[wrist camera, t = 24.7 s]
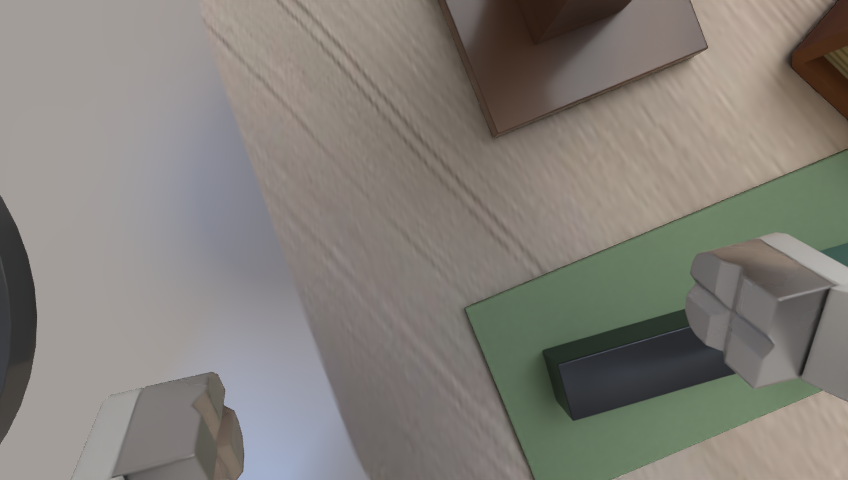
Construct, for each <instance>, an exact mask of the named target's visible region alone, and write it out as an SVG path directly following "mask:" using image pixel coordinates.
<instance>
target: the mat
mask: <svg viewBox="0 0 848 480" xmlns="http://www.w3.org/2000/svg"><path fill="white" fill-rule="evenodd" d="M775 232H778V233H784V234H788V235H790V236H792V237H794V238H796V239H797V240H799V241H801V242H803V243H805V244H807V245H808V246H810V247H812V248H814V249H816V250H817V251H822V250H825V249H828V248H832V247H835V246H839V245H842V244H846V243H848V149H846V150H844V151H841V152H839V153H837V154H834V155H832V156H829V157H827V158H824V159H822V160H820V161H817V162H815V163H812V164H810V165H808V166H805V167H803V168H800V169H798V170H796V171H793V172H791V173H788V174H786V175H783V176H781V177H779V178H776V179H774V180H771V181H769V182H767V183H764V184H762V185H759V186H757V187H755V188H752V189H750V190H747V191H745V192H742V193H740V194H738V195H735V196H733V197H730V198H728V199H726V200H723V201H721V202H718V203H716V204H714V205H711V206H709V207H706V208H704V209H701V210H699V211H697V212H694V213H692V214H689V215H687V216H685V217H682V218H680V219H677V220H675V221H673V222H670V223H668V224H665V225H663V226H660V227H658V228H656V229H653V230H651V231H648V232H646V233H644V234H641V235H639V236H636V237H634V238H632V239H629V240H627V241H624V242H622V243H619V244H617V245H615V246H612V247H610V248H607V249H605V250H603V251H600V252H598V253H595V254H593V255H591V256H588V257H586V258H583V259H581V260H578V261H576V262H574V263H571V264H569V265H566V266H564V267H562V268H559V269H557V270H554V271H552V272H550V273H547V274H545V275H542V276H540V277H537V278H535V279H533V280H530V281H528V282H525V283H523V284H521V285H518V286H516V287H513V288H511V289H509V290H506V291H504V292H501V293H499V294H496V295H494V296H492V297H489V298H487V299H484V300H482V301H480V302H477V303H475V304H472V305H470V306H468V307H465V311H466V313H467V315H468V318H469V320H470V323H471V325H472V328H473V330H474V333H475V335H476V337H477V340H478V342H479V345H480V347H481V350H482V352H483V354H484V357H485V359H486V362H487V364H488V367H489V369H490V372H491V374H492V376H493V379H494V381H495V384H496V386H497V389H498V391H499V393H500V396H501V398H502V401H503V403H504V406H505V408H506V411H507V413H508V415H509V418H510V420H511V423H512V425H513V428H514V430H515V432H516V435H517V437H518V440H519V442H520V445H521V447H522V449H523V452H524V454H525V457H526V459H527V462H528V464H529V467H530V469H531V471H532V474H533V476H534V479H535V480H611V479H614V478H616V477H619V476H621V475H623V474H626V473H628V472H630V471H633V470H635V469H638V468H640V467H642V466H645V465H647V464H649V463H652V462H654V461H656V460H659V459H661V458H664V457H666V456H668V455H671V454H673V453H675V452H678V451H680V450H683V449H685V448H687V447H690V446H692V445H694V444H697V443H699V442H702V441H704V440H706V439H709V438H711V437H713V436H716V435H718V434H720V433H723V432H725V431H728V430H730V429H732V428H735V427H737V426H739V425H742V424H744V423H747V422H749V421H751V420H754V419H756V418H758V417H761V416H763V415H766V414H768V413H770V412H773V411H775V410H777V409H780V408H782V407H784V406H787V405H789V404H792V403H794V402H796V401H799V400H801V399H803V398H806V397H808V396H811V395H813V394H815V393H818V392H820V391H822V390H821V389H819V388H817V387H815V386H812V385H810V384H808V383H806V382H804V381H802V380H801V378H797V379H793V380H789V381H785V382H781V383H777V384H774V385H770V386H766V387H762V388H758V389H753V388H752V387H751V386H750V385H749V384H747V383H746V382H745V381H744V380H743V379H742V378H741V377H740V376H739V375H738V374H737V373H736V374H733V375H729V376H726V377H723V378H719V379H716V380H712V381H709V382H706V383H702V384H699V385H695V386H692V387H688V388H685V389H682V390H678V391H675V392H671V393H668V394H665V395H661V396H658V397H654V398H651V399H648V400H644V401H641V402H637V403H634V404H630V405H627V406H624V407H620V408H617V409H613V410H610V411H607V412H603V413H600V414H596V415H593V416H589V417H586V418H583V419H579V420H576V421H573V420H572V419H571V418H570V417H569V416H568V414H567V413H566V412H565V411H564V410H563V408H562V407H561V406H560V405H559V404H558V402H557V401H556V398H555V395H554V391H553V388H552V384H551V380H550V377H549V373H548V370H547V366H546V362H545V359H544V355H543V350H545V349H548V348H551V347H555V346H558V345H562V344H565V343H569V342H572V341H576V340H579V339H582V338H586V337H589V336H593V335H596V334H600V333H603V332H607V331H610V330H614V329H617V328H620V327H624V326H627V325H631V324H634V323H638V322H641V321H645V320H648V319H651V318H655V317H658V316H662V315H665V314H669V313H672V312H676V311H679V310H683V309H685V305H686V296H687V294H688V292H689V291H690V290H691V288H692V287H693V286H694V284H695V283H696V281H695V280H694V279H693V277H692V276H691V275H690V270H691V265H692V261H693V259H694V258H695V256H696V255H697V253H701V252H705V251H709V250H713V249H717V248H721V247H725V246H729V245H733V244H737V243H741V242H745V241H749V240H750V239H753V238H757V237H760V236H764V235H768V234H772V233H775Z"/></svg>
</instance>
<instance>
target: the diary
mask: <svg viewBox="0 0 848 480" xmlns="http://www.w3.org/2000/svg"><path fill="white" fill-rule="evenodd" d="M792 69H794V70H795V71H796V72H797V73H798V74H799V75H800V76H801V77H802V78H803V79H804V80H805V81H807V82H808V83H809V84H810V85H811V86H812V87H813V88H814V89H815V90H816V91H817V92H818V93H820V94H821V95H822V96H823V97H824V98H825V99H826V100H827V101H828V102H829V103H830V104H832V105H833V106H834V107H835V108H836V109H837V110H838V111H839V112H840V113H841V114H842V115H843V116H845V117H846V118H847V119H848V0H839V1H838V2H837V3H836V5H835V6H834V7H833V8H832V9H831V10H830V11H829V13H828V14H827V15H826V16H825V17H824V18H823V19H822V21H821V22H820V23H819V24H818V25H817V26H816V27H815V29H814V30H813V31H812V32H811V33H810V34H809V35H808V36H807V38H806V39H805V40H804V41H803V42H802V43H801V44H800V46H799V47H798V48H797V49H796V50H795V51H794V52H793V59H792Z"/></svg>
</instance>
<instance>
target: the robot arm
mask: <svg viewBox="0 0 848 480" xmlns="http://www.w3.org/2000/svg"><path fill="white" fill-rule="evenodd" d="M690 275H691V276H692V277H693V279H694V280H695V281H696V283H695V284H694V286H693V287H692V288H691V290H690V291H689V292H688V294H687V296H686V305H685V312H686V316H687V319H688V322H689V325H690V327H691V328H692V330H693V332H694V333H695V335H696V336H697V337H698V338H699V339H700V340H701V341H702V342H703V343H704V344H705V345H707V346H710V347H712V348H715V349H718V350H721V351H723V354H724V362H725V363H726V364H727V365H728V366H729V367H730V368H731V369H732V370H733V371H734V372H736V373H737V374H738V375H739V376H740V377H741V378H742V379H743V380H744V381H745V382H746V383H747V384H749V385H750V386H751V387H752V388H753V389H758V388H762V387H766V386H770V385H774V384H777V383H781V382H785V381H789V380H793V379H797V378H801V380H802V381H804V382H806V383H808V384H810V385H812V386H815V387H817V388H819V389H821V390H823V391H825V392H828V393H830V394H832V395H834V396H836V397H838V398H841V399H843V400H845V401H847V402H848V267H846V266H845V265H843V264H841V263H839V262H837V261H835V260H834V259H832V258H830V257H828V256H826V255H825V254H823V253H821V252H819V251H817V250H816V249H814V248H812V247H810V246H808V245H807V244H805V243H803V242H801V241H799V240H797V239H796V238H794V237H792V236H790V235H788V234H784V233H778V232H775V233H772V234H768V235H764V236H760V237H757V238H753V239H750V240H749V241H745V242H741V243H737V244H733V245H729V246H725V247H721V248H717V249H713V250H709V251H705V252H701V253H697V255H696V256H695V258H694V259H693V261H692V265H691V270H690ZM224 397H225V388H224V386H223V384H222V382H221V380H220V378H219V376H218V374H215V373H214V372H209V373H205V374H201V375H196V376H191V377H187V378H182V379H178V380H173V381H169V382H165V383H160V384H156V385H151V386H146V387H145V388H139V389H135V390H131V391H126V392H122V393H118V394H113V395H110V396H109V397H108V398H107V399H105V400H104V401H103V403H102V405H101V407H100V410H99V412H98V415H97V417H96V419H95V422H94V425H93V427H92V429H91V432H90V434H89V437H88V439H87V441H86V444H85V446H84V449H83V451H82V454H81V456H80V459H79V461H78V463H77V466H76V468H75V471H74V473H73V476H72V478H71V480H237V479H238V478H239V476H240V475H241V473H242V472H243V467H244V448H243V438H242V432H241V429H240V425H239V421H238V419H237V417H236V414H235V412H234V410H232V409H230V408H228V407H226V406H224Z"/></svg>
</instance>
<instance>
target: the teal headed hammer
mask: <svg viewBox="0 0 848 480" xmlns="http://www.w3.org/2000/svg"><path fill="white" fill-rule="evenodd" d="M819 252H821V253H823V254H825V255H826V256H828V257H830V258H832V259H834V260H835V261H837V262H839V263H841V264H843V265H845V266H846V267H848V243H846V244H842V245H839V246H835V247H832V248H828V249H825V250H822V251H819ZM543 355H544V359H545V362H546V366H547V370H548V373H549V377H550V380H551V384H552V388H553V391H554V395H555V398H556V401H557V402H558V404H559V405H560V406H561V407H562V408H563V410H564V411H565V412H566V413H567V414H568V416H569V417H570V418H571V419H572V420H573V421H576V420H579V419H583V418H586V417H589V416H593V415H596V414H600V413H603V412H607V411H610V410H613V409H617V408H620V407H624V406H627V405H630V404H634V403H637V402H641V401H644V400H648V399H651V398H654V397H658V396H661V395H665V394H668V393H671V392H675V391H678V390H682V389H685V388H688V387H692V386H695V385H699V384H702V383H706V382H709V381H712V380H716V379H719V378H723V377H726V376H729V375H733V374H736V372H734V371H733V370H732V369H731V368H730V367H729V366H728V365H727V364H726V363H725V362H724V354H723V351H721V350H718V349H715V348H712V347H710V346H707V345H705V344H704V343H703V342H702V341H701V340H700V339H699V338H698V337H697V336H696V335H695V333H694V332H693V330H692V328H691V327H690V325H689V322H688V319H687V316H686V312H685V309H683V310H679V311H676V312H672V313H669V314H665V315H662V316H658V317H655V318H651V319H648V320H645V321H641V322H638V323H634V324H631V325H627V326H624V327H620V328H617V329H614V330H610V331H607V332H603V333H600V334H596V335H593V336H589V337H586V338H582V339H579V340H576V341H572V342H569V343H565V344H562V345H558V346H555V347H551V348H548V349H545V350H543Z"/></svg>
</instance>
